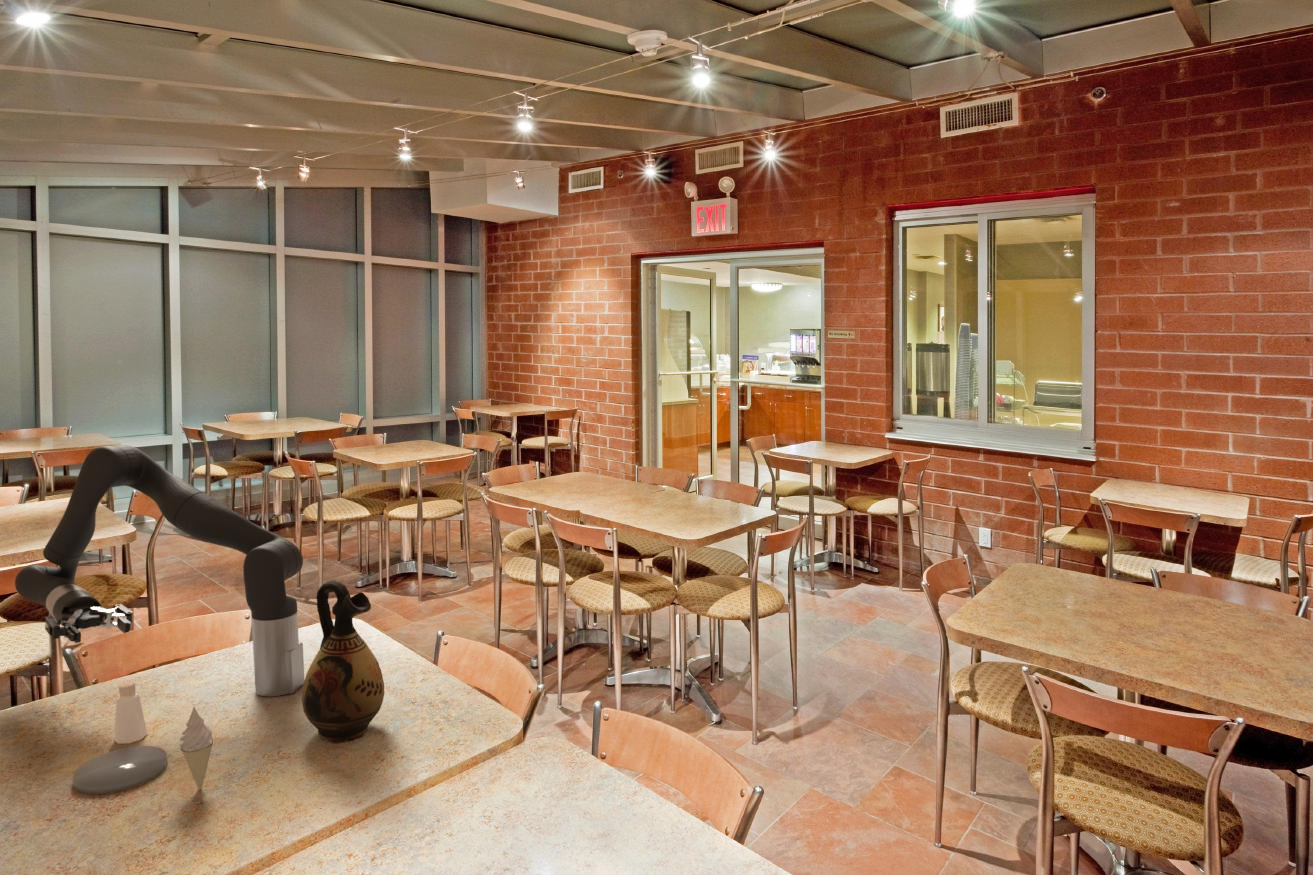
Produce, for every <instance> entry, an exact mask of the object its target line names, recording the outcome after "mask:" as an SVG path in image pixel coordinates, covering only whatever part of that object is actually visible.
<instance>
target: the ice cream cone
mask: <svg viewBox="0 0 1313 875" xmlns="http://www.w3.org/2000/svg"><path fill="white" fill-rule="evenodd" d="M185 725H186V727H187V728H186V729H185V730H184V731H182V732H181V733H180V734H182V735H183V736H181V737H180V738H178V739H179V741H180V742H182V743H181V744H179V747H180V749H179V750H180V752H182V754H183V757H184V759H185V761H186V764H187V765H188V769H189V771H190V773H191V775H192V778H193V780H194V782H195V784H196V787H197V789H198V790H199V791H200V790H202V789H203V785H204V781H205V777H206V773H207V770H208V765H209V762H210V757H211V754H212V748H213V745H214V743H215V740H214V739H213V730H212V729H211V728H210V726H207V725H206V724H205V720H204V719H203V717H201V716H200V714H199V713H198V711H197V709H196V707H195V706H193V708H192V710H191V714H190V716H189V718H188V720H187V722H186V724H185Z"/></svg>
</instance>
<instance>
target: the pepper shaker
mask: <svg viewBox="0 0 1313 875" xmlns="http://www.w3.org/2000/svg"><path fill="white" fill-rule="evenodd" d="M136 686H137V685H136V682H135V681H130V680H129V681H125V682H122V683H120V684H119V685H118V693H119V696H118V697H117V698H116V701H115V703H116V704H115V721H114V739H113V740H114V741H115V742H116V743H117V744H118V745H121V744H122V745H123V744H124V745H125V744H131V743H132V744H133V743H134V742H138V741H141V740H142V739H143V738H145V737H146V736H147V735H148V732H147V726H146V721H145V716H144V711H143V706H142V702H141V697H140V694H139V693H137V690H136Z"/></svg>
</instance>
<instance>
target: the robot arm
mask: <svg viewBox="0 0 1313 875" xmlns="http://www.w3.org/2000/svg"><path fill="white" fill-rule="evenodd" d="M125 486H126V487H131V488H132V489H134V490H136V491H139V493H142V494H144V495H145V496H147V497H148V498H150V499H151V500H152V501H154V503H155V504H156V505H157V507H158V509H159V511H160V512H161V514H162V515H163V518H164V519H166V520H165V521H167V522H168V523H169V524H171V525H172V526H174V527H175V528H176V529H178V530H179V531H181V532H183V533H185V534H187V535H188V536H190V537H192V538H194V539H196V540H198V541H202V542H205V543H209V544H212V545H216V546H221V547H225V548H229V549H232V550H235V551H238V552H240V553H242V554H244V555H246V556H245V557H244V562H243V567H242V568H243V571H242V572H243V582H244V590H245V600H246V604H247V606H248V607H249V610H250V615H251V616H250V617H251V632H252V634H251V636H252V650H253V652H252V654H253V668H254V669H253V670H254V685H255V686H254V687H255V693H256V695H258V696H261V697H278V696H283V695H287V694H288V695H290V694H291V695H292V694H294V693H295V692H296V691H297V690H298V689H299V688H300V687H301V686H303V684H304V681H305V664H304V663H305V662H304V644H303V642H302V641H301V642H300V641H299V620H298V619H299V617H298V602H297V599H296V598H295V597H294V596H291V595H287V591H286V583H285V582H286V581H287V580H289V579H291V578H293V577H294V576H295V575H297V574H298V573H299V572H300V571H301V570H302V567H303V565H304V557H303V554H302V552H301V550H300V548H299V547H297V545H296V544H294V543H293V542H292V541H291V540H289V539H287V538H285V537H283V536H280V535H279V534H276V533H274V532H272V531H270V530H267V529H265V528H264V527H261V526H259V525H258V524H256V523H255V522H252V521H251V520H249V519H247V518H246V517H244V516H242V515H241V514H239V513H238V512H236V511H234V510H233V509H231V508H230V507H228V506H226V505H224V504H223V503H221V502H220V501H218V500H217V499H215V498H214V497H213V496H211V495H209V494H207V493H205V492H204V491H202V490H200V489H199V488H196V487H195V486H193V485H191V484H189V483H188V482H187V481H185V480H183V479H182V478H180V477H178V476H177V475H175V474H173V473H171V472H170V471H169V470H167V469H166V468H164V467H163V466H162V465H160V464H159V463H158V462H156V460H154V459H153V458H152V457H150V456H149V455H148V454H146V453H145V452H144V451H142V450H141V449H139V448H138V447H136V446H132V445H129V444H117V445H104V446H99V447H95V448H94V449H92V450H91V451H89V453H87V456H85V459H84V461H83V462H82V465H81V467H80V469H79V473H78V476H77V478H76V482H75V484H74V487H73V491H72V492H71V495H70V498H69V501H68V504H67V505H66V509H65V511H64V513H63V515H62V517H61V519H60V521H59V522H58V524H57V526H56V528H55V530H54V531H53V533H52V535H51V536H50V538H49V539H48V542H47V543H46V545H45V546H44V549H43V551H42V552H43V553H42V555H43V557H44V559H45V560H46V561H48V562H49V563H51V564H54V565H56V566H48V565H41V564H30V565H27V566H25V567H23V568H22V569H20V570H19V572H18V573H17V574H16V576H15V578H14V587H15V589H16V592H17V593H18V594H19V595H20V596H21V597H22V598H24V599H26V600H28V601H31V602H33V603H35V604H38V605H42V606H43V607H44V608H46V610H47V611H48V612H49V614H50V615H51V616H46V617H45V622H44V630H45V632H47V634H48V635H49V636H50V637H51V639H53V640H57V639H59V638H60V637H63V638H65V639H68V640H69V641H70V642H74V643H75V644H79V643H81V641H82V633H81V630H84V629H89V628H96V627H99V628H100V627H101V628H107V629H109V628H111V627H116V628H117V629H118V630H120V631H121V632H122V633H123V634H127V633H129V632H130V630H131V625H132V624H133V614H134V613H133V612H134V611H132V610H131V609H129V608H128V607H126V606H125V605H124V604H121V603H116V604H115V606H114V608H107V607H103V606H102V604H101V603H100V601H99V600H98V599H97V598H96V597H94V595H92V594H91V593H90V592H88V591H87V590H86V589H85V588H83V587H81V586H79V585H78V584H77V583H75V579H76V572H77V569H78V565H79V562H80V559H81V557H82V555H83V554H84V552H85V550H86V549H87V547H88V546H89V544H90V542H91V541H92V538H93V536H94V534H95V530H96V517H97V514H96V513H97V509H98V506H99V504H100V502H101V500H102V499H103V497H105V495H106V494H107V493H108V491H109V490H111V488H116V487H118V488H119V487H125ZM115 619H117V621H115Z"/></svg>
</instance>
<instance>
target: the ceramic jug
mask: <svg viewBox="0 0 1313 875" xmlns="http://www.w3.org/2000/svg"><path fill="white" fill-rule="evenodd" d="M346 586H347V585H345V584H344V583H342V582H339V581H336V580H330V581H327V582H326V583H323V584H322V585H321V586H320V587H319V588H318V590H317V592H316V610H317V613H318V618H319V623H320V627H321V631H322V635H323V636H322V640H321V643H320V647H319V650H318V651H317V653H316V654H315V656H314V658H313V660H312V662H311V664H310V665H309V668H308V669H307V672H306V675H305V676H304V680H305V681H304V683H303V684H302V688H301V689H302V690H301V705H302V711H303V713H304V715H305V716H306V718H307V720H308V721H309V723H310V724H312V726H313V727H314V728H316V729H317V735H318V737H319V738H320V739H321V740H324V741H326V742H329V743H333V744H338V743H339V744H340V743H342V742H347V741H350V742H351V741H353V740H357V739H359V738H362V737H363V735H364V734H365V733H367V732H368V730H369V725H370V723H371V722H372V721H373V719H374V718H375V717H376V715H377V714H378V713H379V711H380V710H381V708H382V705H383V701H384V697H385V683H384V681H385V680H384V678H383V673H382V669H381V667H380V663H379V661H378V660H377V657H376V656H375V655H374V652H372V650H371V649H370V647H369V645H368V644H367V643H366V642H365V640H364V639H363V638H362V637H361V636H360V634H359V633H358V631H357V629H356V628H355V627H354V624H353V618H354V617H357V616H358V615H362V614H365V613H368V612H369V611H371V609H372V606H371V605H372V604H371V603H370V599H369V597H368V596H367V595H366V594H365V593H364V592H362V591H360V592H358V593H356V594H354V595H353V596H352V597H351V594H350V591H349V590H348V588H347V587H346ZM330 593H334V594H335V597H336V602H335V603H334V605H333V606H332V607H331V608H330V603H329V595H330ZM332 614H333V615H334V621H333V619H332Z"/></svg>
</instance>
